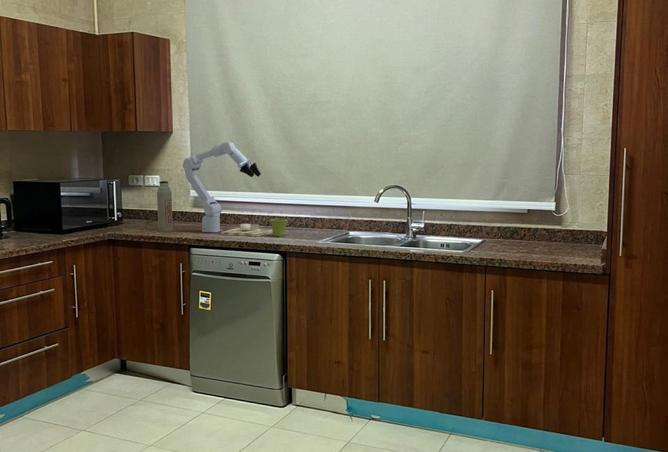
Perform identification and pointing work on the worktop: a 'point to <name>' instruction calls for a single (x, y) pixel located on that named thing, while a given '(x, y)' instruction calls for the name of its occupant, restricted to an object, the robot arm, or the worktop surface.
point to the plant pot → (278, 226)
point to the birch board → (246, 232)
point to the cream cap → (248, 226)
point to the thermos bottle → (164, 207)
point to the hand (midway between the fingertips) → (256, 175)
